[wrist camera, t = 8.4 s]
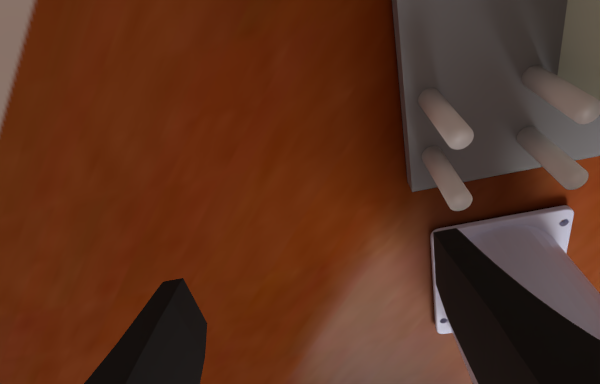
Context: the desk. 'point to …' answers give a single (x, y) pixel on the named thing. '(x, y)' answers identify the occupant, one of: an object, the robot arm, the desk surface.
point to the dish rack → (488, 94)
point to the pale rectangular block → (581, 46)
